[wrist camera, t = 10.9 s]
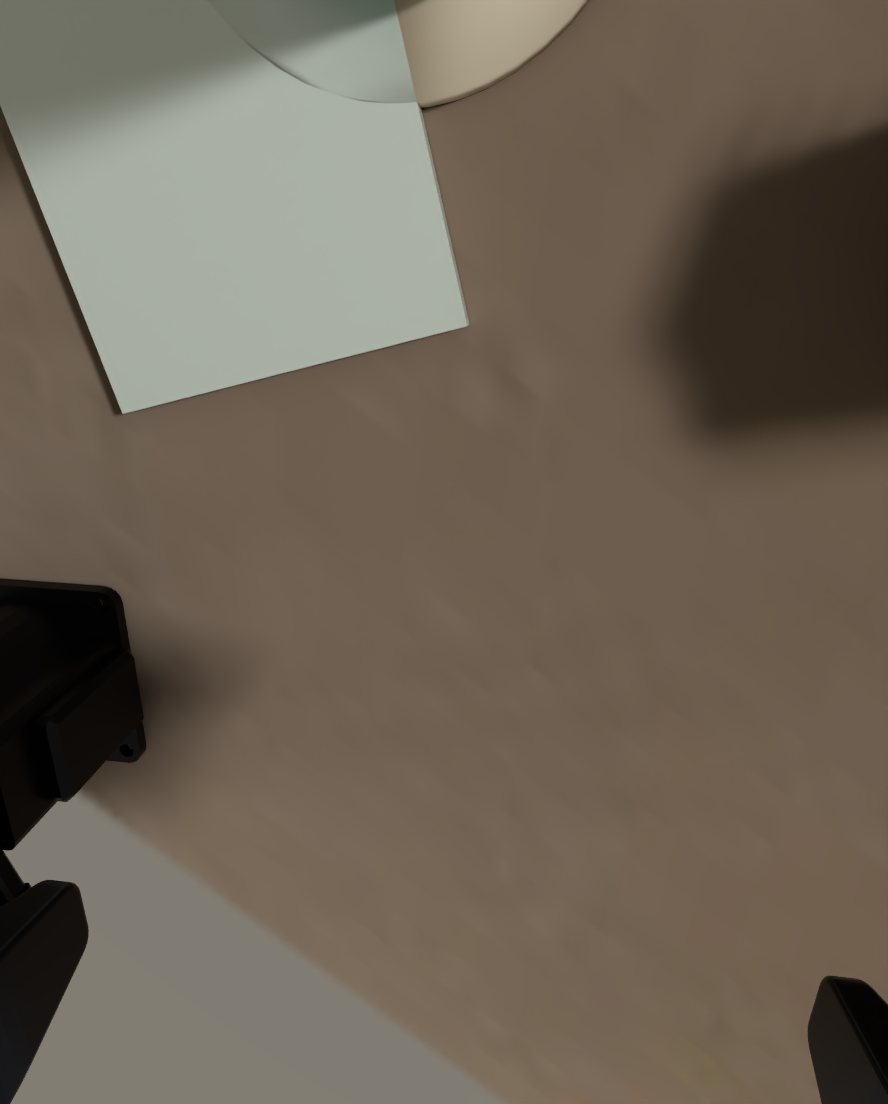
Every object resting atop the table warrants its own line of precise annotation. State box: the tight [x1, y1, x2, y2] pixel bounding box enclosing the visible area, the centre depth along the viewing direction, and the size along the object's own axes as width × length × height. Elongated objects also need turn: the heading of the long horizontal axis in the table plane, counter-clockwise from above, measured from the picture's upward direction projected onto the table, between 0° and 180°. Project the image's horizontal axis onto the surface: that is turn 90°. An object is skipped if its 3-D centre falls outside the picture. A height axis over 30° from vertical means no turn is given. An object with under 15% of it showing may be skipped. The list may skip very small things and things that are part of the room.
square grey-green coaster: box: [0, 0, 470, 414], centre depth 17 cm, size 10×10×1 cm
